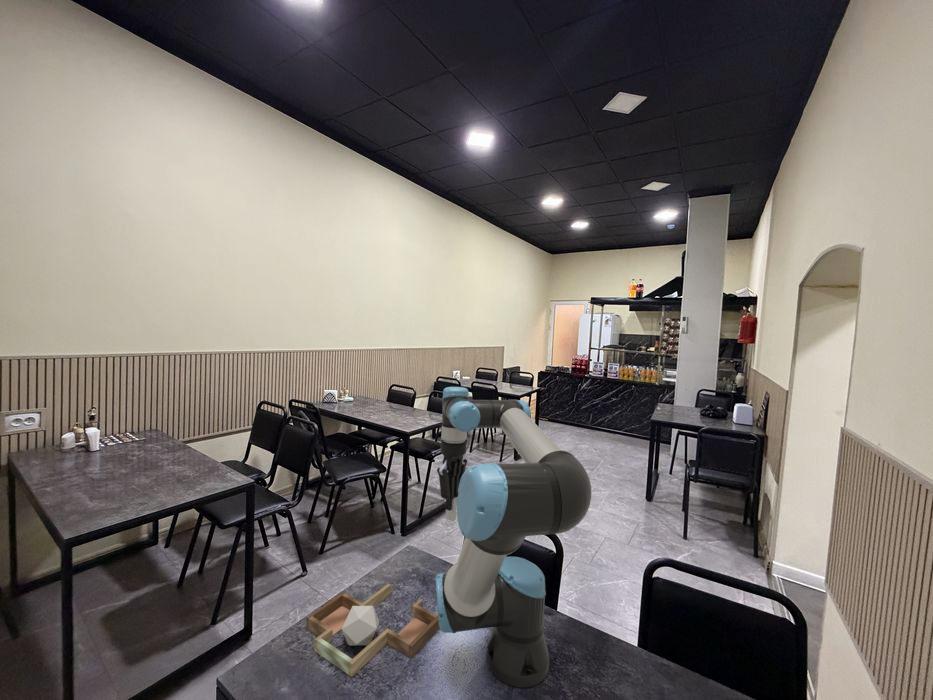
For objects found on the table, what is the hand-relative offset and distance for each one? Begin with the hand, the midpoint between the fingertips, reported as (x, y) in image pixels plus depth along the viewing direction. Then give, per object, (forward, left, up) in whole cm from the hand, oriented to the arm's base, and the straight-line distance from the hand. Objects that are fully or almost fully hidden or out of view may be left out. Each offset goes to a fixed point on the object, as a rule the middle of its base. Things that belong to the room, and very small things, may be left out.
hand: (450, 519), depth 113 cm
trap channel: (+10, +20, -24) cm, 33 cm away
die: (+10, +25, -25) cm, 36 cm away
